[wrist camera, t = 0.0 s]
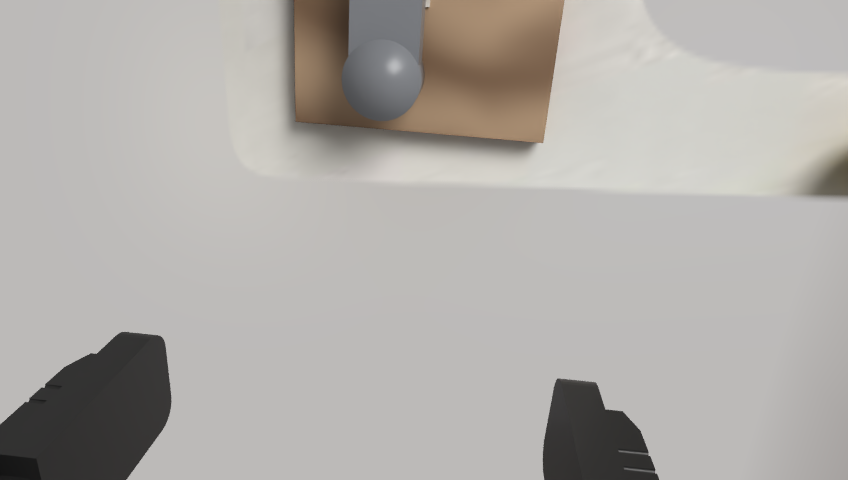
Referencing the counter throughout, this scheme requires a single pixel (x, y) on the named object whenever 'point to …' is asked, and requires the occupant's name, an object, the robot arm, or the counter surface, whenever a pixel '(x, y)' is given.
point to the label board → (442, 68)
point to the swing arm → (384, 57)
